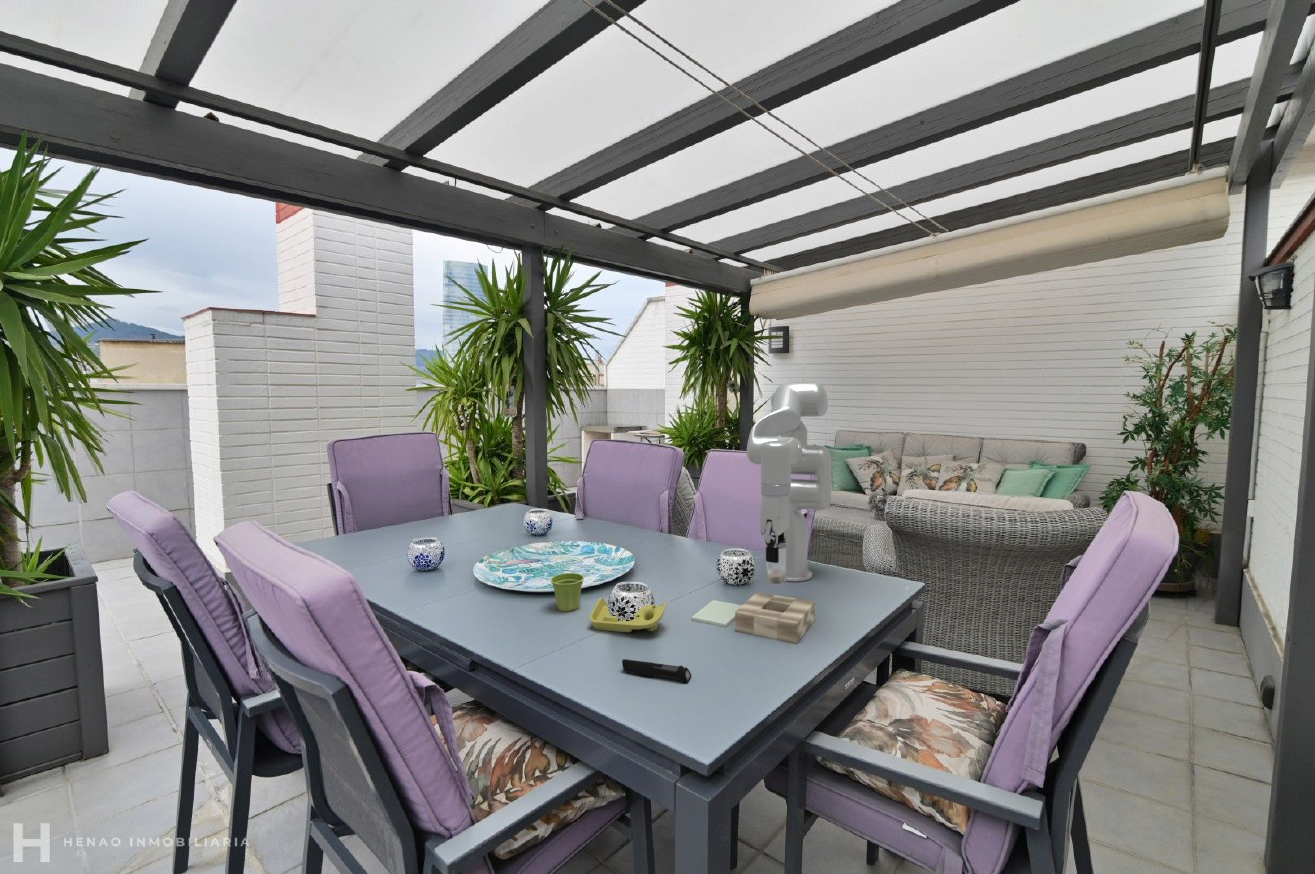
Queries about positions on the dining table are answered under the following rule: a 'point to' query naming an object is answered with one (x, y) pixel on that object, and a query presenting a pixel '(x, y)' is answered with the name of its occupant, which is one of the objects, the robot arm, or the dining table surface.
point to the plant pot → (567, 590)
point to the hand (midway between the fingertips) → (776, 557)
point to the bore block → (775, 617)
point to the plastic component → (646, 619)
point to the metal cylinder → (777, 566)
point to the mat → (717, 613)
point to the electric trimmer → (657, 670)
